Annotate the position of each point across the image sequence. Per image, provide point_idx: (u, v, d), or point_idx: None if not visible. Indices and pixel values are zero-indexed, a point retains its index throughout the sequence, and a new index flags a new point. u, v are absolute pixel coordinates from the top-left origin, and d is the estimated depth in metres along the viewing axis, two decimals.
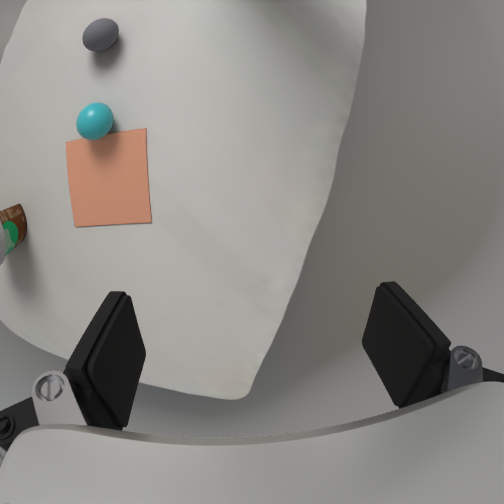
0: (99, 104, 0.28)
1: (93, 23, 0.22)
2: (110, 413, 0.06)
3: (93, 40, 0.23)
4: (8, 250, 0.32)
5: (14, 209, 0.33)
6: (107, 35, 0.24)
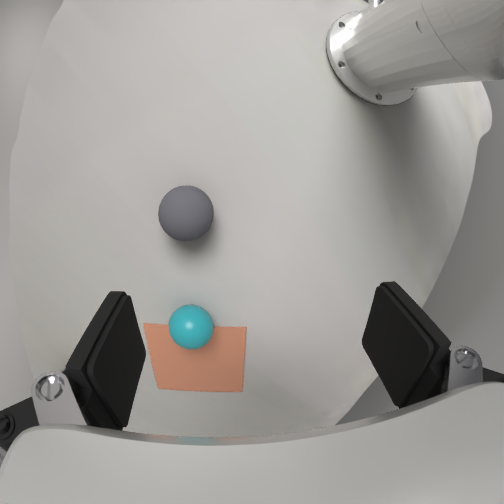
0: (199, 318, 0.30)
1: (179, 205, 0.24)
2: (110, 413, 0.06)
3: (183, 237, 0.25)
4: None
5: None
6: (204, 229, 0.26)
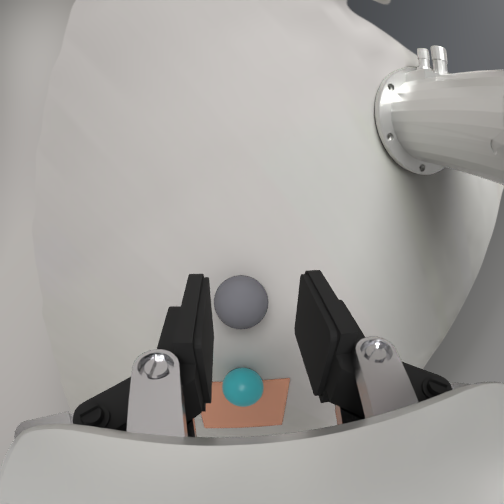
0: (253, 382, 0.32)
1: (239, 304, 0.25)
2: (202, 389, 0.07)
3: (242, 328, 0.27)
4: None
5: None
6: (261, 319, 0.27)
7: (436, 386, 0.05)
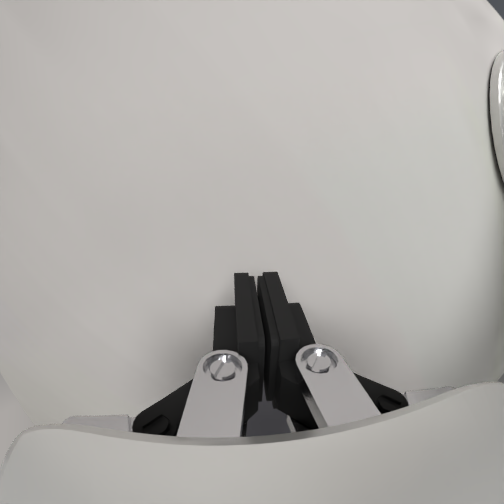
0: None
1: None
2: None
3: None
4: None
5: None
6: None
7: (387, 403, 0.05)
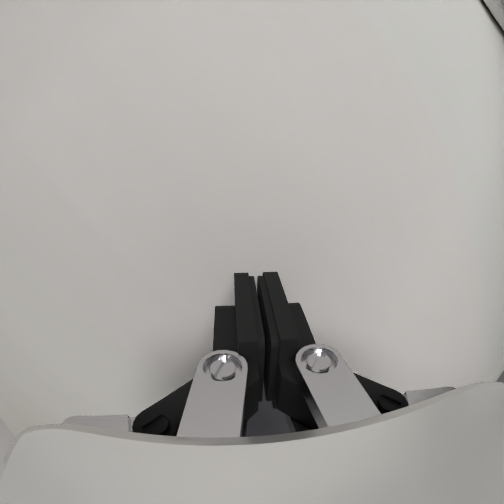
0: None
1: None
2: None
3: None
4: None
5: None
6: None
7: (387, 403, 0.05)
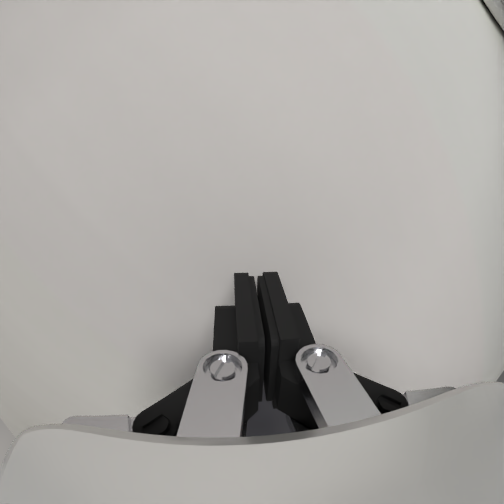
0: None
1: None
2: None
3: None
4: None
5: None
6: None
7: (387, 403, 0.05)
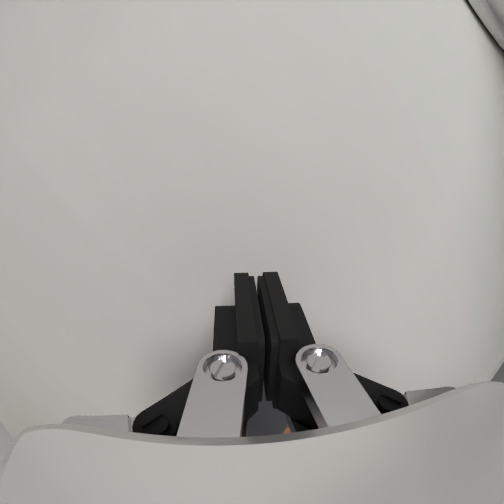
0: None
1: None
2: None
3: None
4: None
5: None
6: None
7: (387, 403, 0.05)
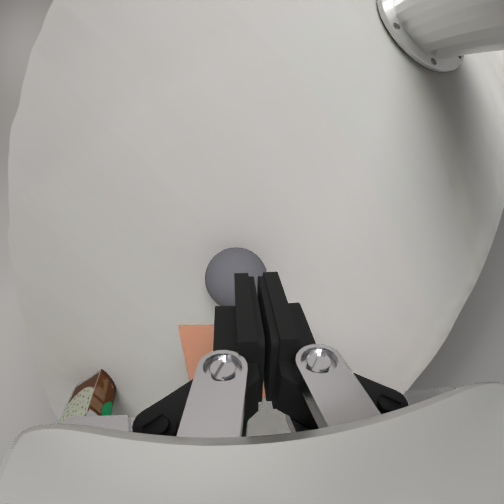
0: None
1: None
2: None
3: None
4: None
5: (101, 382, 0.30)
6: None
7: (387, 403, 0.05)
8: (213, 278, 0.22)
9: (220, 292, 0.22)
